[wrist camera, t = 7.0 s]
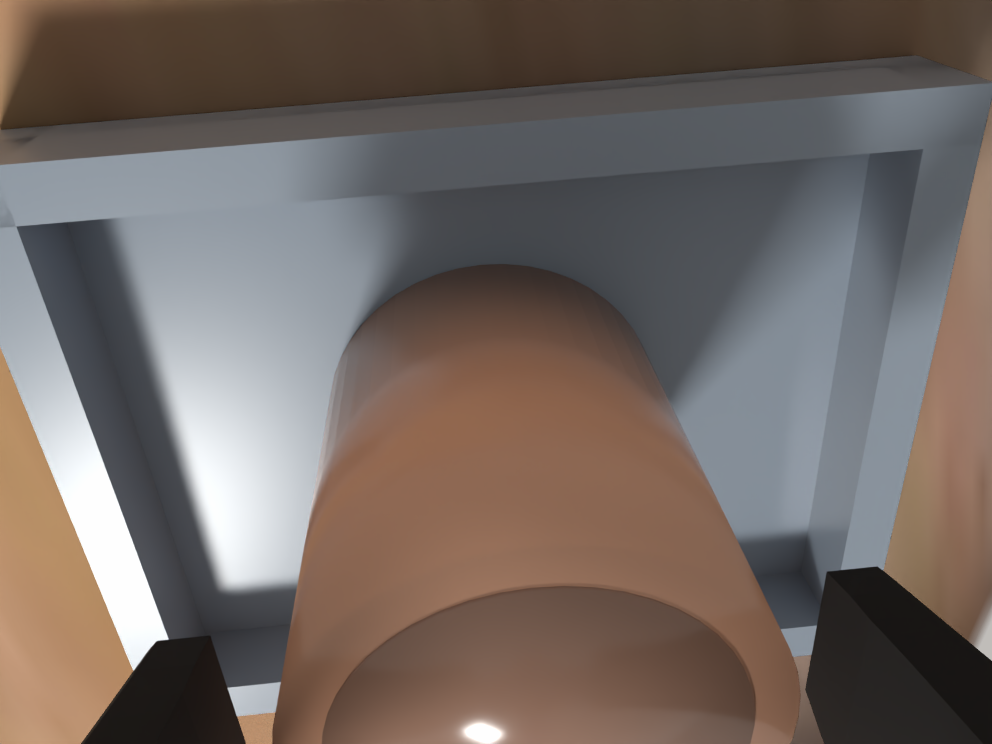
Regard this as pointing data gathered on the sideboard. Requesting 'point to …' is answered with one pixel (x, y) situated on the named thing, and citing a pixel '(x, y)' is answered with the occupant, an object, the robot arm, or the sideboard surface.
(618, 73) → the sideboard surface
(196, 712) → the robot arm
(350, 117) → the tray
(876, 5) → the sideboard surface
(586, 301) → the cup
